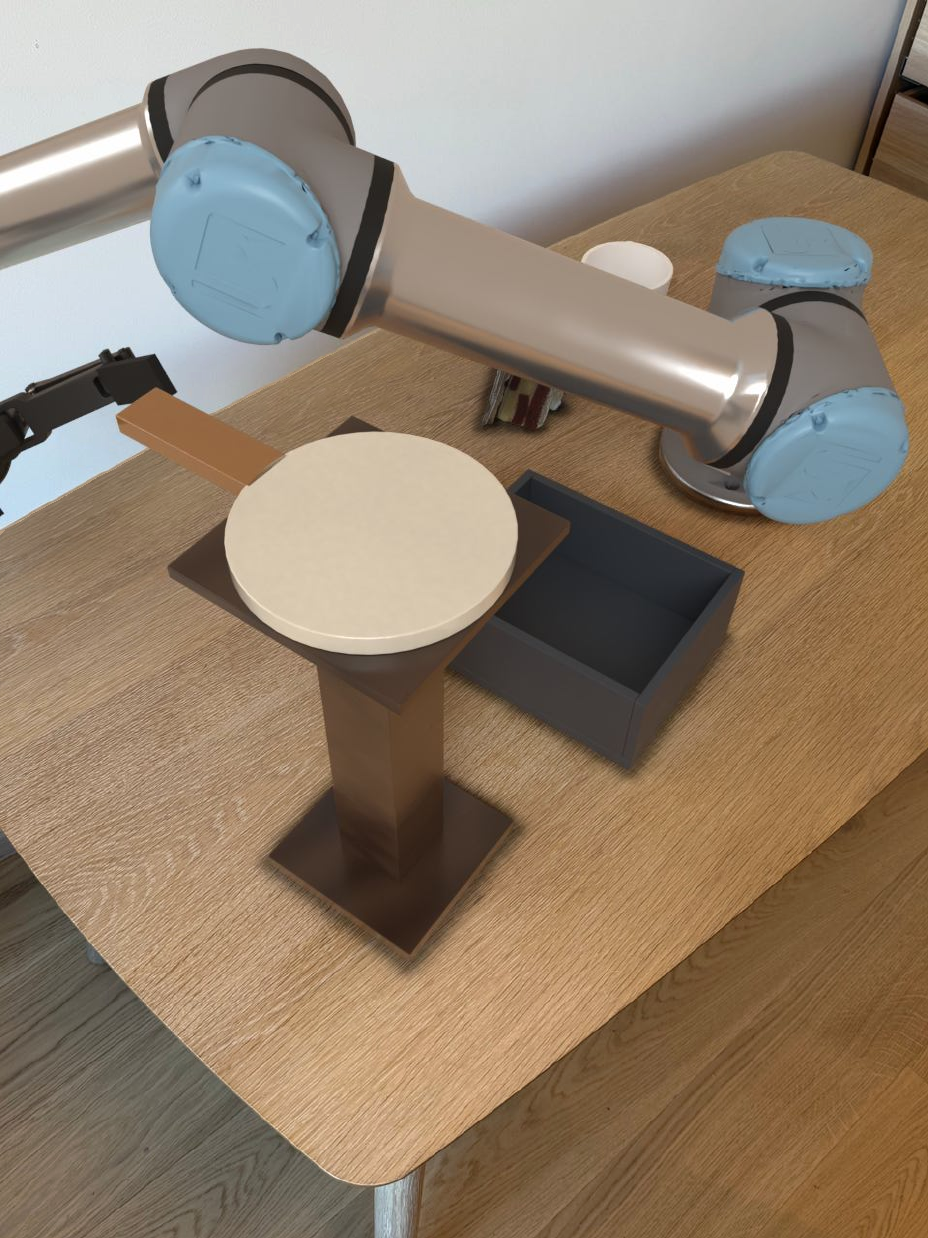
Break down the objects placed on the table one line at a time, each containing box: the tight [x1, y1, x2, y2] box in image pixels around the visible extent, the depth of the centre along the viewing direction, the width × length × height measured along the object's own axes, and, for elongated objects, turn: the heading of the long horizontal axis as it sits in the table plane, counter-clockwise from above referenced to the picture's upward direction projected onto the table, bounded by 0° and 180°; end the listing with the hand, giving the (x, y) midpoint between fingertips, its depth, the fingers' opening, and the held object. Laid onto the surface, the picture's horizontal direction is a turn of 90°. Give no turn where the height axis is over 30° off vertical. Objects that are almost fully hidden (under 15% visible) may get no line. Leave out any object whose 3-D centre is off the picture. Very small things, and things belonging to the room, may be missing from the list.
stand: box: [166, 415, 570, 963], centre depth 65 cm, size 14×14×30 cm
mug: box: [580, 240, 674, 296], centre depth 110 cm, size 11×9×10 cm
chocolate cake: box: [481, 369, 565, 431], centre depth 108 cm, size 10×7×12 cm
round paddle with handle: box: [115, 388, 518, 655], centre depth 55 cm, size 23×14×1 cm, turn 55°
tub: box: [446, 468, 746, 771], centre depth 85 cm, size 20×16×8 cm
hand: (78, 433), depth 65 cm, fingers open, 13 cm apart
